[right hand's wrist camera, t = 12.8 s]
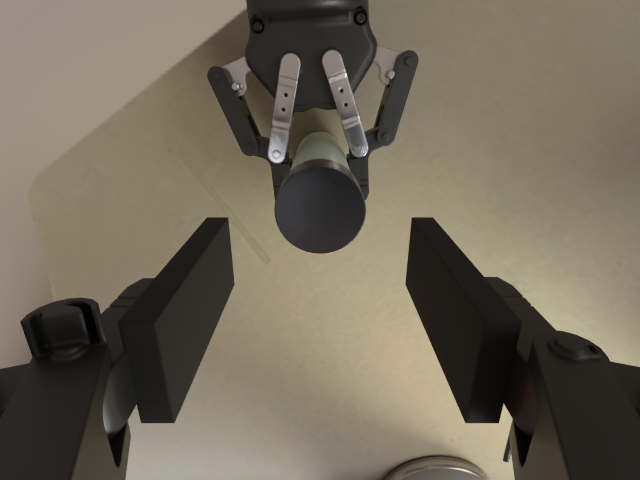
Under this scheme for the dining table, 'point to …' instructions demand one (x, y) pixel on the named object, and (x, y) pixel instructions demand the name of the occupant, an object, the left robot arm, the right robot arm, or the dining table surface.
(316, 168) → the lid
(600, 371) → the right robot arm
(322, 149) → the bottle
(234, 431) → the dining table surface
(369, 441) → the dining table surface
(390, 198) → the dining table surface
